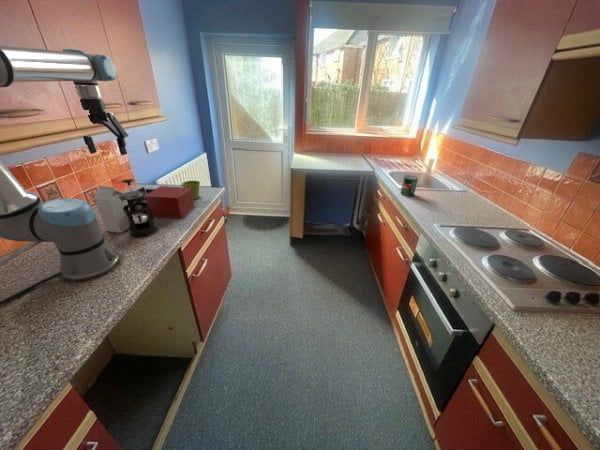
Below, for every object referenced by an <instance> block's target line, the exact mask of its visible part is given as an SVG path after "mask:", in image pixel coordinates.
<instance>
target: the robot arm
mask: <svg viewBox="0 0 600 450" xmlns="http://www.w3.org/2000/svg"><path fill="white" fill-rule="evenodd" d="M117 76H118V71H117V68H116V64H115V63H114V61H113V60H112V59H111V58H110V57H109V56H108V55H105V54H99V53H95V54H94V53H88V52H86V51H85V50H80V49H72V48H63V49H62V50H55V49H47V48H36V47H27V46H19V45H9V44H0V88H8V87H10V86H12V85H13V84H14V83H34V82H35V83H36V82H39V83H41V82H72V81H73V82H74V84H75V87H74V89H75V88H76V90H77V93H76V95H77V94H78V96H79V97H78V96H77V97H78V98H79V99H80V98H81V99H80V102H81V105H82V108H83V111H84V110H89V113H90V115H88V117H89V119H90V121H91V122H92V123H93V124H94V125H102V126H104V127H106V128H107V130H109V131H110V132H111V134H113V135H114V136H115V137H116V143H117V146H118V150H119V152H120V156H125V155H127V154H128V151H127V149H126V147H127V144H126V141H125V139H126V138H127V137H129V134H128V132H127V131H126V130H125V129H124V127H123V126H122V124H121V123H120V121H119V120H118V119H117V117H116V115H115V113H114V112H113V111H110V112H106V105H105V103H104V102H105V101H104V100H103V99H102V97H103V96H102V92H101V89H100V85H99V83H98V82H113V81H115V80H116V79H117V78H118V77H117ZM73 82H72V83H73ZM82 85H85V86H82ZM76 90H75V91H76ZM80 102H79V103H80ZM81 105H80V106H81ZM82 108H81V109H82ZM82 138H83V141H84V143H85V145H86V146H87V148H88V151H89V154H90V155H91V154H96V153H97V152H98V151H97V149H96V148H97V147H96V146H95V142H94V140H93V138H92V136H84V137H82ZM101 229H102V228H101V227H100V224H99V221H98V219H97V216H96V213H95V211H94V210H93V208H92V205H91V204H90V203H89V202H87V201H86V200H84V199H81V198H74V197H65V198H55V199H50V200H47V201H45V202H44V201H43V200H42V199H41V198H40V196H39V195H38V194H37V193H36V192H34V191H30V190H26V189H25V188H24V186H23V185H22V184H21V182H19V180H17V178H16V177H15V176H14V175H13V173H12V172H11V170H9V168H8V167H7V166H6V165H5V163H3V161H2V160H1V159H0V239H3V240H8V241H13V242H35V243H37V242H40V243H41V242H42V243H54V245H55V247H56V249H57V251H58V253H59V257H60V260H59V261H60V264H59V265H60V272H58V273H56V274H53V275H51V276H49V277H46V278H44V279H42V280H40V281H38V282H35V283H34V284H31V285H30V286H28V287H26V288H24V289H22V290H20V291H19V292H17V293H14V294H12V295H11V296H9V297H6V298H4V299H2V300H0V306H1V305H4V304H6V303H7V302H9V301H12V300H14V299H16V298H17V297H19V296H21V295H23V294H25V293H26V292H29V291H31V290H32V289H35V288H37V287H38V286H41V285H43V284H45V283H47V282H49V281H51V280H53V279H55V278H58V277H60V276H62V277H63V279H64V280H66V281H71V282H79V281H80V282H82V281H86V280H87V281H88V280H91V279H95V278H97V277H100V276H102V275H104V274H106V273H108V272H110V271H111V270H113V269H114V268H115V267H116V266H117V265H118V263H119V262H120V257H119V255H118V254H119V253H118V252H117V251H116V250H115V249H114V248H113V247H112V246H110V245H109V243H108V242H107V241H106V240H105V237H104V234H103V232H102V230H101Z"/></svg>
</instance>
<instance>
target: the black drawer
mask: <svg viewBox="0 0 600 450" xmlns="http://www.w3.org/2000/svg"><path fill="white" fill-rule="evenodd" d="M155 189H156V188H148V187H147V188H146V187H144V186H142V187H140V188H138V189H136V190H135V191H143V192H145V193H146V195H147V194H148V193H150V192H152V191H153V190H155ZM144 201H145V200H144ZM126 202H127V205H128V204H131V203H134V202H132V201H129V200H126ZM142 202H143V201H142ZM136 206H137V210H140V209H143V208H142V205H136ZM135 210H136V207H135V206H132V207H129V211H135ZM140 214H144V212H141V213H140Z"/></svg>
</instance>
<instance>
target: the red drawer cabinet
mask: <svg viewBox="0 0 600 450" xmlns="http://www.w3.org/2000/svg"><path fill="white" fill-rule="evenodd" d="M154 189H155V190H153V191H152V192H150V193H148V194H146V195H145V198H146V199H145V201H148V203H149V207H150V210H151V214H152V218H164V219H179V220H180V219H181V220H182V219H183V218H184V217H185V216H187V214H188V213H190V212H191V211H192V210H193V209H194V208H195V204H194V200H193V197H192V192H191V188H185V187H183V186H165V185H161V186H158V187H156V188H154Z"/></svg>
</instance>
